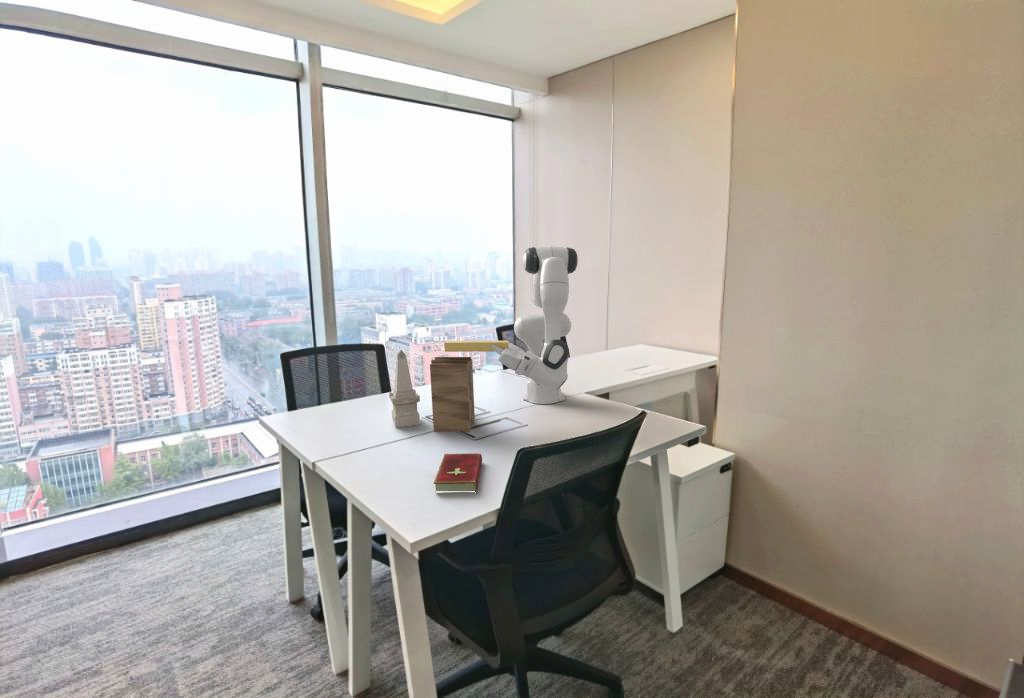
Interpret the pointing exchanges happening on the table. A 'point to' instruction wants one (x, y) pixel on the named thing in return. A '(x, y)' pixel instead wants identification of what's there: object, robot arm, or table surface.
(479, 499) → the table surface
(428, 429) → the table surface
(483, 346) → the yellow wooden bar
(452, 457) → the hardcover book
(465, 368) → the stand
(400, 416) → the miniature monument
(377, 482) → the table surface
